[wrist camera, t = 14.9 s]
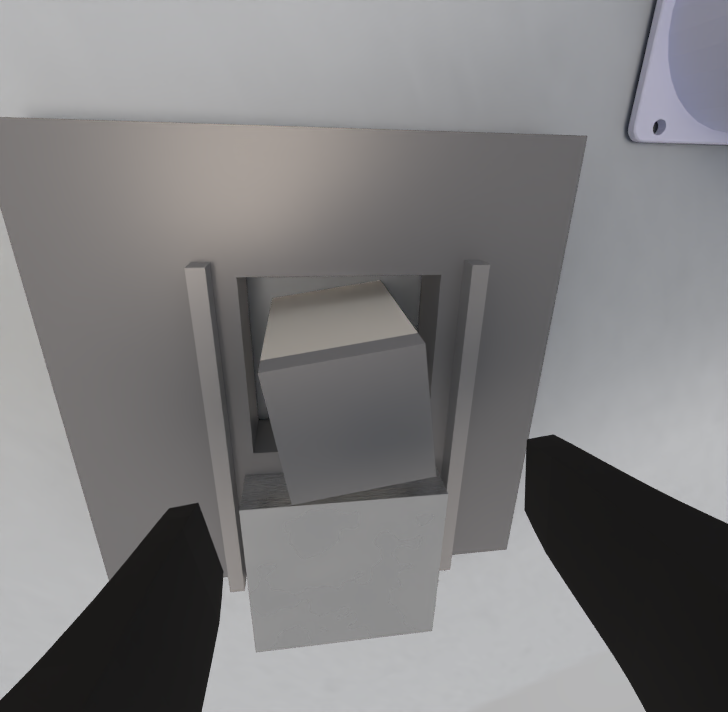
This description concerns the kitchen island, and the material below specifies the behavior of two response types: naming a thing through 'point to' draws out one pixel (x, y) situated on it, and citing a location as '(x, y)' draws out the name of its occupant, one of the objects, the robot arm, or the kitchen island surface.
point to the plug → (346, 392)
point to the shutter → (341, 561)
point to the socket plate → (277, 259)
